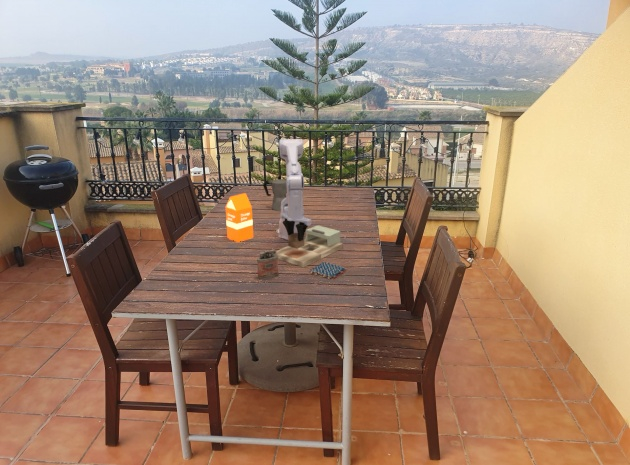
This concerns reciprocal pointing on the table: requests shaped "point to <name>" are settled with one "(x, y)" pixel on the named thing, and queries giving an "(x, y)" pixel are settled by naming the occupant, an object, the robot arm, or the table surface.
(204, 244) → the table surface
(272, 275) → the lighter
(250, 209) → the orange juice
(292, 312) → the table surface
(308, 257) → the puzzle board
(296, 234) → the walnut block
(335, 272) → the woven mat
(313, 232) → the slide cover
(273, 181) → the coffeepot
